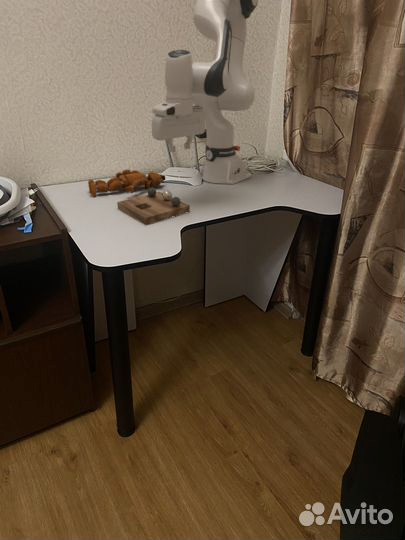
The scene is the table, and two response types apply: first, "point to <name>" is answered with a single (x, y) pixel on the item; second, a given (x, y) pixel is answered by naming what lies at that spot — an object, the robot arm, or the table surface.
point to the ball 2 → (175, 201)
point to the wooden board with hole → (151, 208)
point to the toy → (126, 182)
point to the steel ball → (166, 195)
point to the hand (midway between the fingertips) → (179, 150)
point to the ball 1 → (151, 191)
